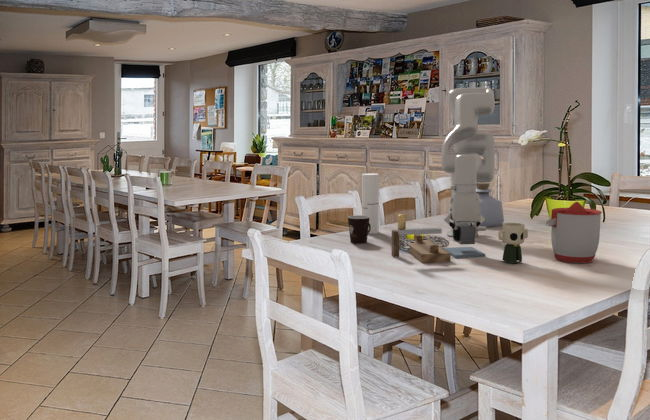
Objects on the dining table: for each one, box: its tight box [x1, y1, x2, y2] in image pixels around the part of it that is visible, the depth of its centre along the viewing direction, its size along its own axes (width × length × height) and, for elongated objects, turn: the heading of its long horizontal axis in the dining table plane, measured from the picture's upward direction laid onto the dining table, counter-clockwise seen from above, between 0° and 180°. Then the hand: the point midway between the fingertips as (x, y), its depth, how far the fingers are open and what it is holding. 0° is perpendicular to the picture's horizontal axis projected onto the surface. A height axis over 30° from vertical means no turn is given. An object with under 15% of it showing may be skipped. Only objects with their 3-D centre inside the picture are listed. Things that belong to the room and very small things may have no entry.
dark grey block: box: [452, 224, 476, 246], centre depth 219 cm, size 5×8×6 cm, turn 8°
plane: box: [391, 229, 452, 264], centre depth 217 cm, size 17×24×9 cm
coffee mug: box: [347, 214, 371, 245], centre depth 240 cm, size 12×9×10 cm
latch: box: [397, 213, 443, 236], centre depth 207 cm, size 15×3×7 cm, turn 97°
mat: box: [442, 246, 486, 259], centre depth 220 cm, size 11×13×1 cm
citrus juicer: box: [545, 201, 603, 264], centre depth 207 cm, size 16×17×20 cm
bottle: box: [476, 182, 505, 228], centre depth 282 cm, size 20×20×19 cm
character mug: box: [497, 222, 529, 264], centre depth 205 cm, size 11×7×13 cm, turn 106°
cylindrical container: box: [361, 172, 380, 235], centre depth 262 cm, size 7×7×25 cm
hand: (463, 239), depth 219 cm, fingers closed on dark grey block, 5 cm apart
